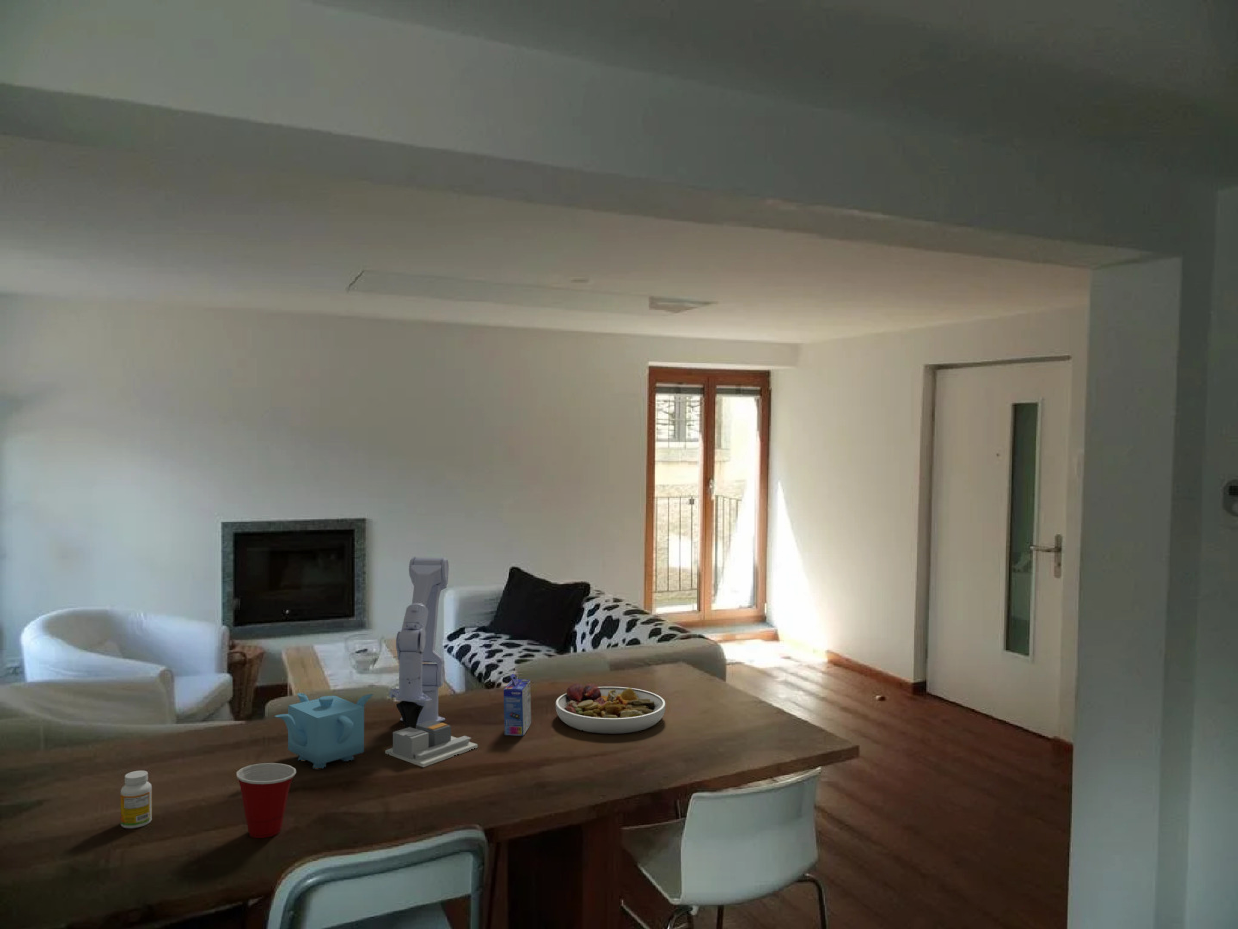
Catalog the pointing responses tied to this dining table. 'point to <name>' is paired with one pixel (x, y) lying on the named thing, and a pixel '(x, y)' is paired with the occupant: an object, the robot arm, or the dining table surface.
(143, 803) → the supplement bottle
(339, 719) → the teakettle
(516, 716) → the ink cartridge box
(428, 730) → the block
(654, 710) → the bowl
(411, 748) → the rail plate
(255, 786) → the plastic cup
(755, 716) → the dining table surface
